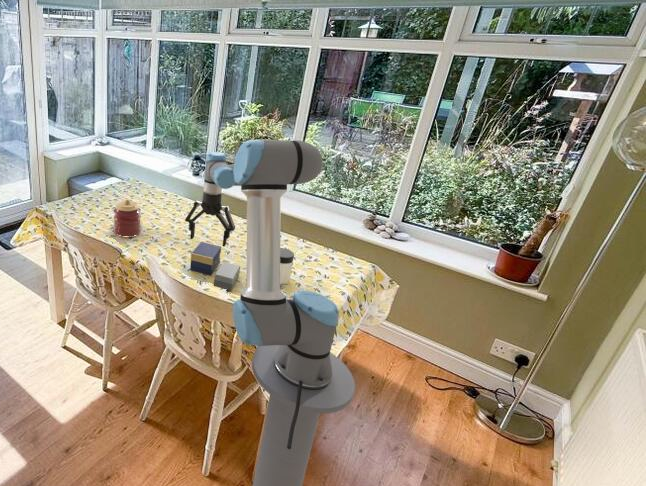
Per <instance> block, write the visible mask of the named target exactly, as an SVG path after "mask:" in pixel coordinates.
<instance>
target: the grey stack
mask: <svg viewBox="0 0 646 486" xmlns="http://www.w3.org/2000/svg"><path fill="white" fill-rule="evenodd" d="M240 269H241V265H240V264H235V263H231V262H227V261H222V263H221V265H220V266H219V268H218V270H217V271H216V273H215V274H214V280H213V285H212V286H213V287H214V288H215V287H216V288H219V289H223V290H227V291H230V292H231V291H233V289H234V287H235V285H236V283H237V281H238V279H239V277H240V272H241V271H240Z"/></svg>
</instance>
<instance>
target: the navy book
mask: <svg viewBox="0 0 646 486" xmlns="http://www.w3.org/2000/svg"><path fill="white" fill-rule="evenodd" d="M221 253H222V246H221V245H216V244H212V243H208V242H203V241H200V242H199V243H198V245H197V246H196V247H195V248H194V249H193V250H192V252H191V253H190V261H191V260H193V261H197V262H201V263H205V264H209V265H213V263H214V262H215V260H216V259H217V257H218V256H219V255H220V256H221Z"/></svg>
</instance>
